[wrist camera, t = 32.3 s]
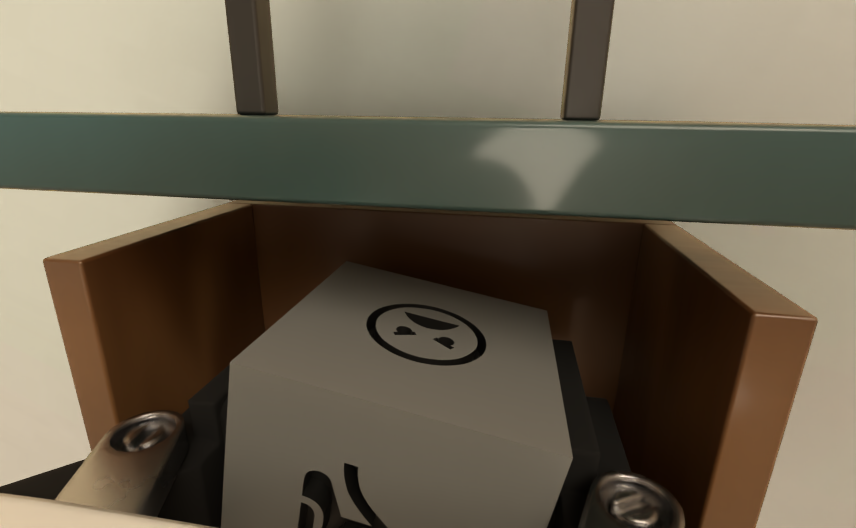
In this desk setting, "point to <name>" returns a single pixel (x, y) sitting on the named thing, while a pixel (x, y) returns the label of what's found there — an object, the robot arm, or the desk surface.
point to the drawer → (455, 247)
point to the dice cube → (396, 411)
